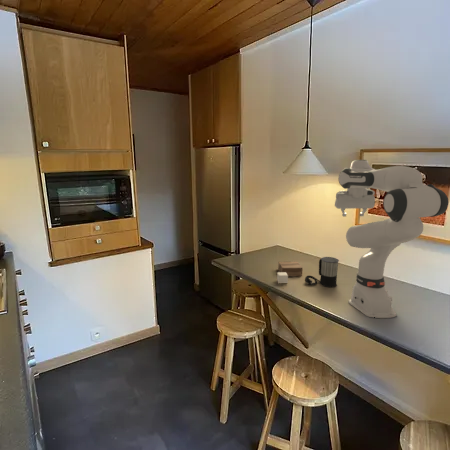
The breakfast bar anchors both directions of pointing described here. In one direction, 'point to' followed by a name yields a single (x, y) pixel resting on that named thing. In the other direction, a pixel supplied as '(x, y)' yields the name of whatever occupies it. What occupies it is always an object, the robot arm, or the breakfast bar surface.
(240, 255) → the breakfast bar surface
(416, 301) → the breakfast bar surface
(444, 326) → the breakfast bar surface
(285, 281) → the cube
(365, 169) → the robot arm
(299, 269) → the walnut base
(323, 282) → the milk frother
